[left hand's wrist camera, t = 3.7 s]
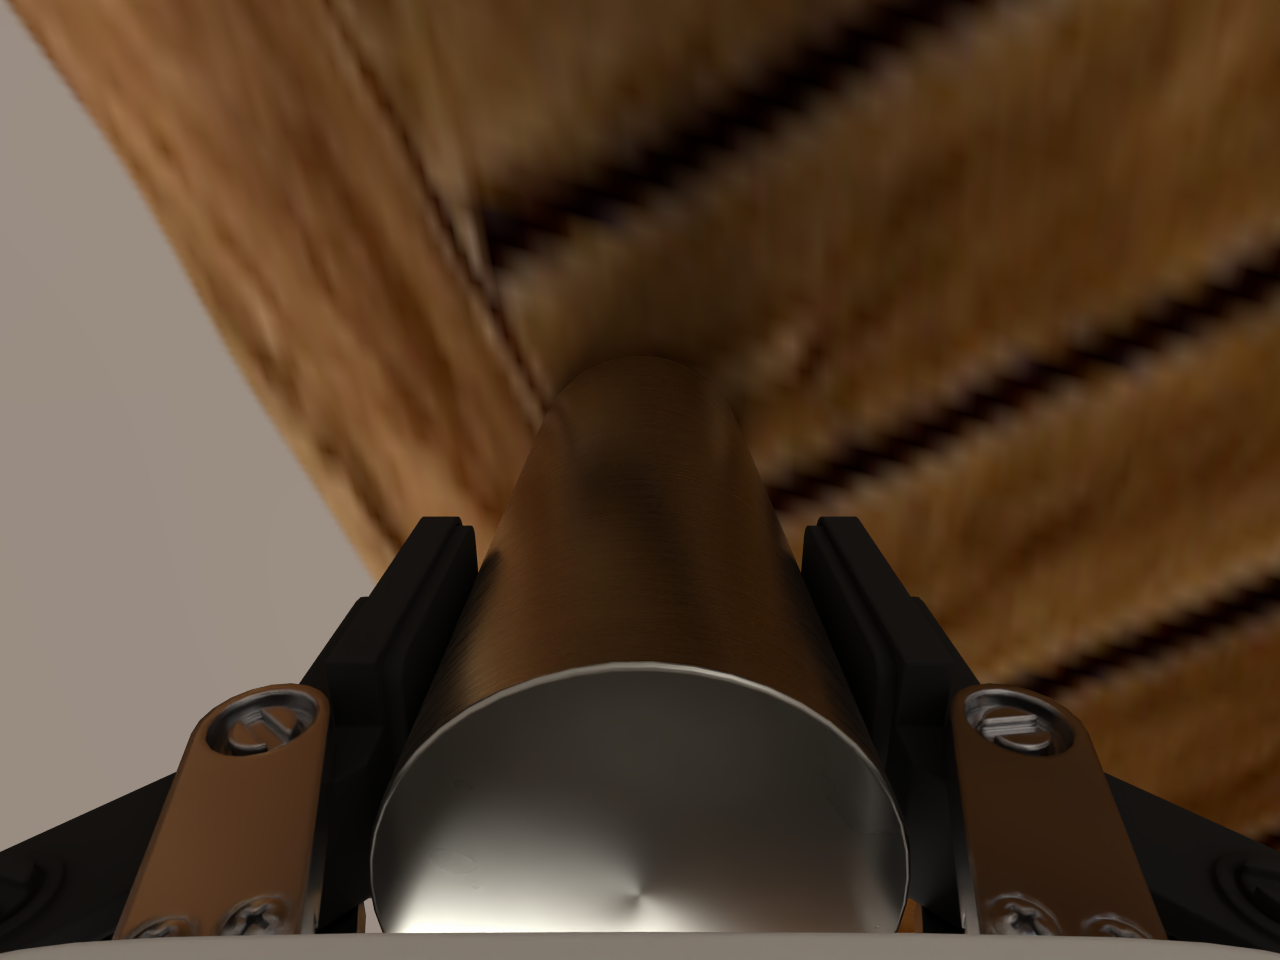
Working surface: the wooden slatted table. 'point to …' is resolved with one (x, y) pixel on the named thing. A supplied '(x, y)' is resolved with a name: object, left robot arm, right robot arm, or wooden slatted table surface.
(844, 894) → the tin
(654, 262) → the wooden slatted table surface
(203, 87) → the wooden slatted table surface
